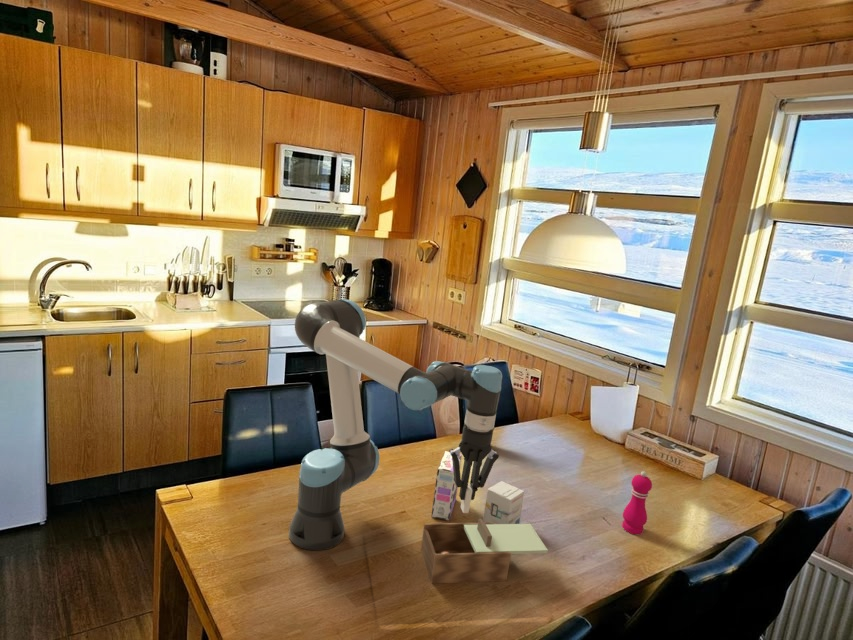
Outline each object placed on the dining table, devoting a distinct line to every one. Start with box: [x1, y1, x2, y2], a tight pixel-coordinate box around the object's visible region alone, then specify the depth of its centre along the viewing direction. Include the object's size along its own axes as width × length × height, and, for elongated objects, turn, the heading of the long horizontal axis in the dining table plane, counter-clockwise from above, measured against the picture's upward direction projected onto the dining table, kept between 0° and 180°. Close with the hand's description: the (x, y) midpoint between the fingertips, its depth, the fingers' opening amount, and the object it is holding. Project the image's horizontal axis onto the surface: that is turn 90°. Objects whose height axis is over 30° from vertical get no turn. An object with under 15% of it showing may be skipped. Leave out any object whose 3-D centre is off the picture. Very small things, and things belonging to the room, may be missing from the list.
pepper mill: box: [621, 470, 653, 535], centre depth 177 cm, size 7×7×20 cm
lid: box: [463, 518, 549, 555], centre depth 151 cm, size 20×12×4 cm, turn 102°
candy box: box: [431, 450, 463, 522], centre depth 177 cm, size 14×6×16 cm, turn 168°
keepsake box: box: [420, 522, 512, 584], centre depth 150 cm, size 20×14×9 cm
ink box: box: [482, 480, 525, 524], centre depth 172 cm, size 8×8×12 cm
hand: (464, 510), depth 147 cm, fingers closed
